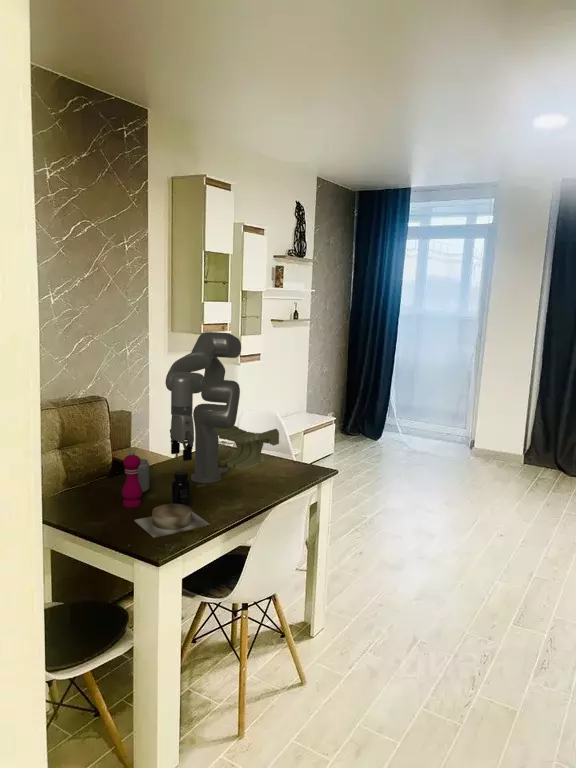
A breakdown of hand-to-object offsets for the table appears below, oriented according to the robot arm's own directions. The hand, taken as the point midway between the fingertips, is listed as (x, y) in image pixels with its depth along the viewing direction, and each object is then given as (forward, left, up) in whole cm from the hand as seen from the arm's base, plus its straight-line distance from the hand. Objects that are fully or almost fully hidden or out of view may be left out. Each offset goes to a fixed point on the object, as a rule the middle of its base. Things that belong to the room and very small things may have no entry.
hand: (181, 456), depth 215 cm
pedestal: (+10, +14, -18) cm, 25 cm away
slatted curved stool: (-46, -34, -18) cm, 60 cm away
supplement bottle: (0, 0, -18) cm, 18 cm away
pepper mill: (+15, -9, -18) cm, 25 cm away
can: (+7, -22, -18) cm, 29 cm away
